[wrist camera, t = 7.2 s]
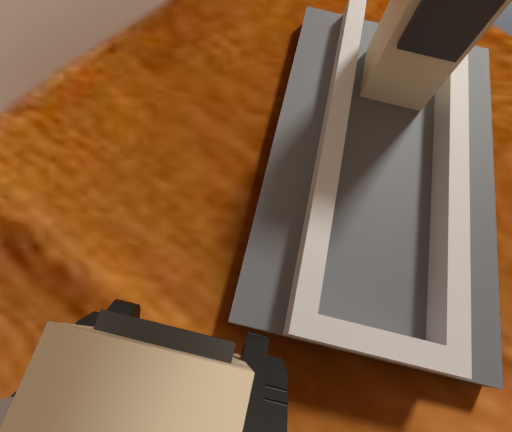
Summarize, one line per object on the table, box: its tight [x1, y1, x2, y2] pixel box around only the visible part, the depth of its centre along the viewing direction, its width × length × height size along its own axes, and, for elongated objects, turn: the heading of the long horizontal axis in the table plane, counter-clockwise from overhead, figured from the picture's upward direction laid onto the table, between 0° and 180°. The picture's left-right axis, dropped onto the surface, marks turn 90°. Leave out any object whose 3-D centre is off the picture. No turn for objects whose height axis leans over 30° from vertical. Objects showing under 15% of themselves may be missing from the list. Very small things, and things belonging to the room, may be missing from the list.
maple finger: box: [0, 309, 255, 432], centre depth 10 cm, size 4×4×10 cm
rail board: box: [228, 0, 512, 389], centre depth 14 cm, size 12×20×11 cm, turn 167°
